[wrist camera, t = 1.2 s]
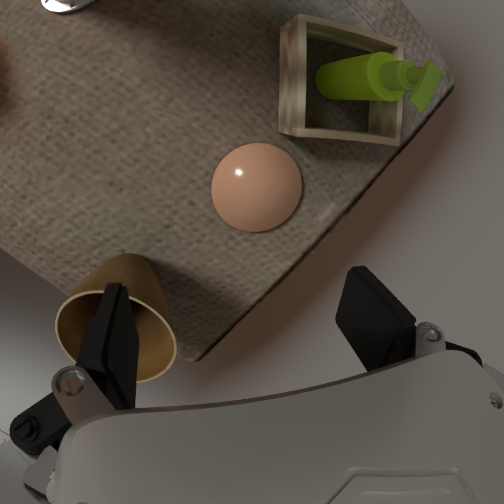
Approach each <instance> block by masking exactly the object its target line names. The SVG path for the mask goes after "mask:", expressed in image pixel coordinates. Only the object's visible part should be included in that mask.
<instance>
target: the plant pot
mask: <svg viewBox="0 0 504 504" xmlns="http://www.w3.org/2000/svg"><path fill="white" fill-rule="evenodd" d="M107 283H122V286H126V287H127V290H128V294H129V299H130V303H131V307H132V311H133V315H134V319H135V323H136V327H137V331H138V335H139V341H140V345H139V355H138V367H137V380H136V383H142V382H146V381H150V380H152V379H155V378H157V377H159V376H161V375H162V374H163V373H165V372H166V371H167V370H168V369H169V368H170V367H171V365H172V364H173V362H174V360H175V357H176V353H177V343H176V337H175V333H174V328H173V324H172V320H171V315H170V312H169V308H168V305H167V301H166V298H165V295H164V292H163V290H162V287H161V285H160V282H159V280H158V278H157V276H156V274H155V272H154V271H153V269H152V267H151V266H150V264H149V263H148V262H147V261H146V260H145V259H144V258H142V257H141V256H139V255H136V254H131V253H126V254H121V255H119V256H117V257H114V258H112V259H110V260H109V261H107V262H105V263H104V264H102V265H101V266H99V267H98V268H97V269H95V270H94V271H93V272H92V273H91V274H89V275H88V276H87V277H86V278H85V279H84V280H83V281H82V282H81V283H80V284H79V285H78V286H77V287H76V289H75V290H74V291H73V292H72V293H71V294H70V296H69V297H68V298H67V299H66V301H65V302H64V303H63V305H62V306H61V308H60V309H59V311H58V313H57V316H56V321H55V329H56V334H57V338H58V341H59V343H60V345H61V347H62V348H63V350H64V351H65V352H66V354H67V355H68V356H69V357H70V358H71V359H72V360H73V361H74V362H75V363H76V361H77V357H78V353H79V350H80V347H81V343H82V340H83V336H84V333H85V330H86V327H87V324H88V321H89V319H90V317H91V316H96V314H97V311H98V308H99V305H100V302H101V299H102V296H103V293H104V290H105V288H106V285H107Z"/></svg>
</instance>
